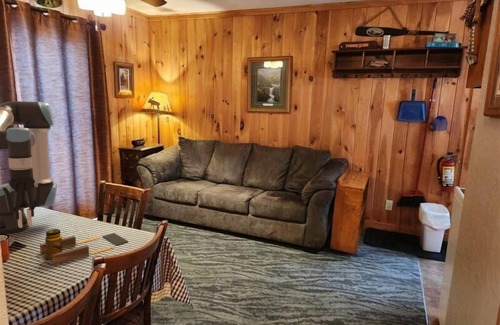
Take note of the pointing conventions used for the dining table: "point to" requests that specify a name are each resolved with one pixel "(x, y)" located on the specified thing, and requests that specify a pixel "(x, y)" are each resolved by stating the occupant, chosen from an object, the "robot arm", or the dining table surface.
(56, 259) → the parallel wooden rails
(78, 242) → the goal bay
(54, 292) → the dining table surface
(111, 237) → the mat
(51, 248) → the condiment
